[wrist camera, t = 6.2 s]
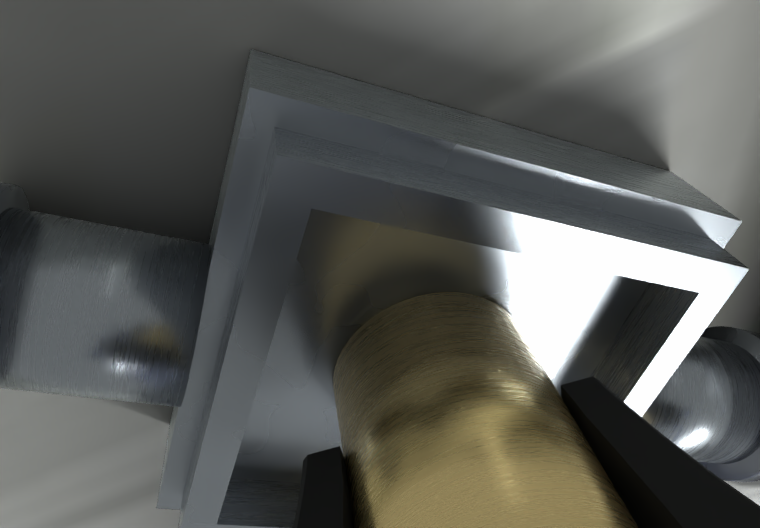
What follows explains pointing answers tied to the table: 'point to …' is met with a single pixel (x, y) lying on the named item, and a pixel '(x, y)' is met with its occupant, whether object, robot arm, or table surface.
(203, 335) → the valve body
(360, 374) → the brass cylinder
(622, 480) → the robot arm
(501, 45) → the table surface
